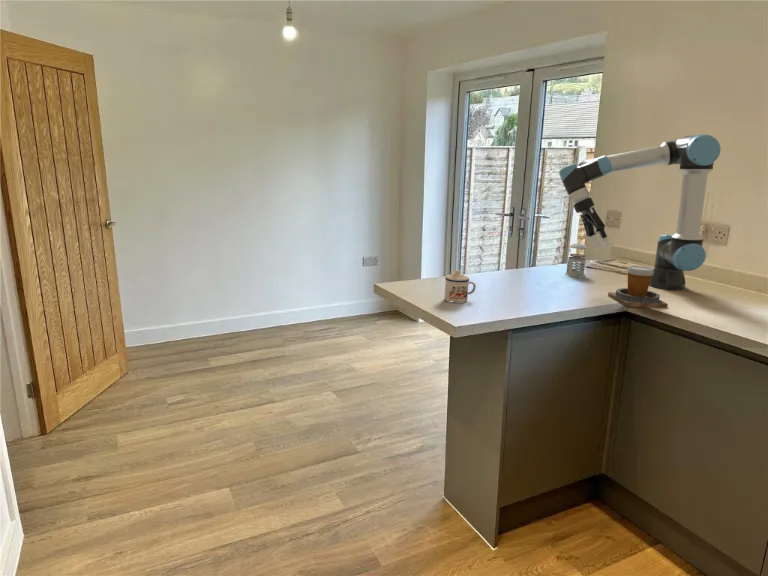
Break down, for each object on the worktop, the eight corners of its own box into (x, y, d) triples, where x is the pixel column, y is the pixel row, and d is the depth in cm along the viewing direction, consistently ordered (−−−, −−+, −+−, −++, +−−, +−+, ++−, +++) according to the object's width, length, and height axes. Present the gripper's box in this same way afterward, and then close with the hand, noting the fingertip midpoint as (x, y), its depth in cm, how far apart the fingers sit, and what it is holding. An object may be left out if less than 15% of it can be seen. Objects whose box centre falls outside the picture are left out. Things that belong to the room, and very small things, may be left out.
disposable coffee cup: (652, 302, 205) (657, 271, 202) (626, 300, 207) (630, 269, 204) (645, 296, 214) (650, 266, 211) (620, 294, 216) (624, 264, 213)
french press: (588, 277, 253) (595, 224, 247) (564, 276, 253) (570, 223, 247) (581, 273, 262) (588, 222, 256) (558, 272, 262) (563, 221, 256)
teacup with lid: (447, 303, 198) (449, 273, 196) (440, 297, 207) (442, 268, 204) (478, 303, 201) (480, 273, 198) (470, 297, 209) (472, 267, 207)
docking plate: (646, 296, 219) (647, 288, 218) (667, 307, 203) (668, 298, 203) (607, 295, 219) (609, 287, 218) (625, 306, 203) (626, 297, 202)
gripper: (567, 210, 233) (587, 254, 231) (579, 198, 209) (602, 247, 207) (583, 203, 232) (604, 247, 230) (598, 190, 208) (621, 240, 206)
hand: (603, 247), depth 218 cm, fingers open, 13 cm apart
